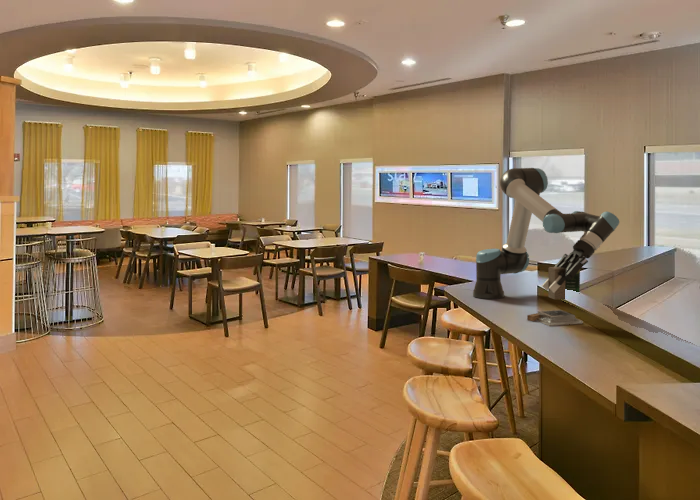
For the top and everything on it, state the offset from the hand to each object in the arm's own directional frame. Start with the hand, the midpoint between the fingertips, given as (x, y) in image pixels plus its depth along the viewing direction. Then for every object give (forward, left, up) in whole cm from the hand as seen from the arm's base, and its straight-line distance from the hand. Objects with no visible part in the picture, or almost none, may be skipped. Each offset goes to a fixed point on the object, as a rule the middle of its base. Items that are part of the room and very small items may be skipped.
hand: (547, 289), depth 199 cm
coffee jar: (-19, +39, -13) cm, 46 cm away
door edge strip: (-5, +3, -13) cm, 14 cm away
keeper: (+1, +3, -13) cm, 13 cm away
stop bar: (+1, +3, -4) cm, 5 cm away
